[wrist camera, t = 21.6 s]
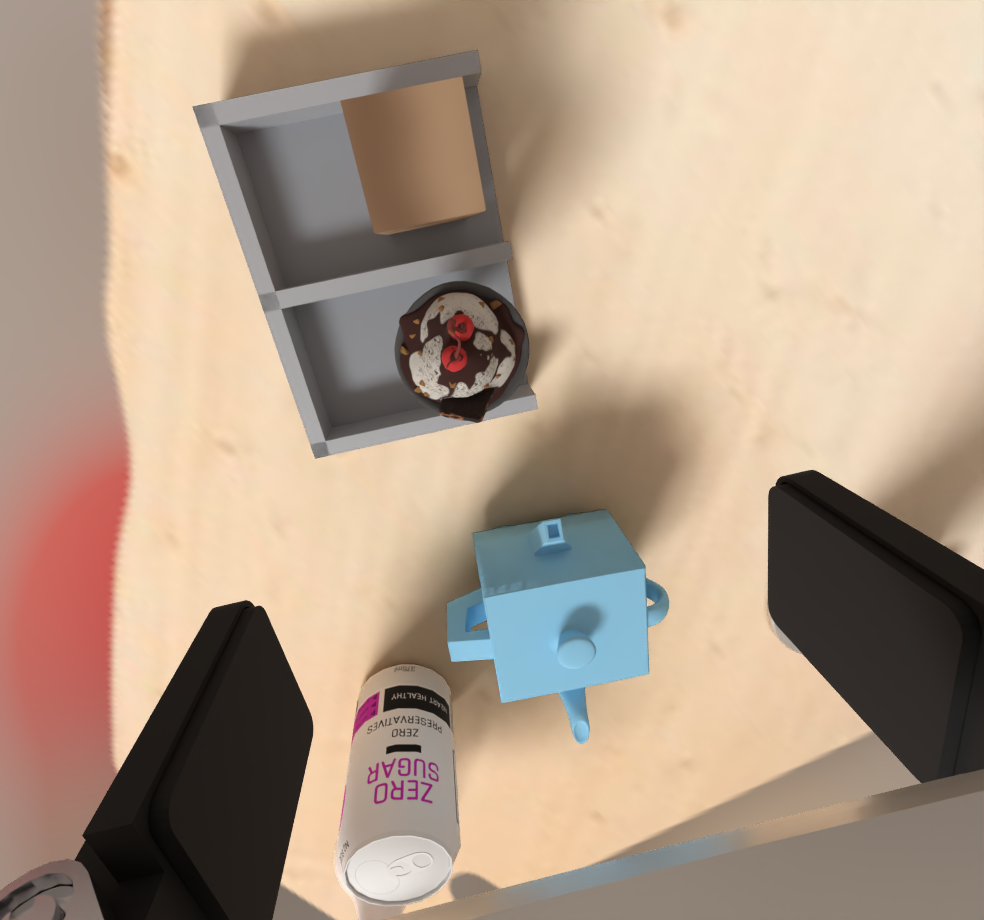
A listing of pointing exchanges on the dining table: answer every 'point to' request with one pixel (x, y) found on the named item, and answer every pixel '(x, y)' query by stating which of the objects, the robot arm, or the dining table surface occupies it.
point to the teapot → (558, 610)
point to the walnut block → (415, 156)
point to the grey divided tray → (346, 251)
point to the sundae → (461, 350)
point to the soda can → (400, 789)
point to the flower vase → (366, 913)
